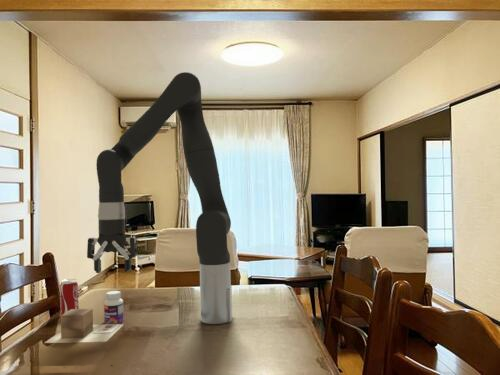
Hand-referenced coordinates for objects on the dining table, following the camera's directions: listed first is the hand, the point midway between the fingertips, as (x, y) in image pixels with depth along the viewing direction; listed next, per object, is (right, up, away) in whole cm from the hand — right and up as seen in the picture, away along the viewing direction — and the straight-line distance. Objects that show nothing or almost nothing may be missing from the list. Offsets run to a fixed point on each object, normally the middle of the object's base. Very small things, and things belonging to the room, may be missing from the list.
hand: (112, 272), depth 122 cm
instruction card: (+1, -14, -7) cm, 16 cm away
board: (-4, -16, -10) cm, 19 cm away
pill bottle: (+1, -16, 0) cm, 16 cm away
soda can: (-16, -16, +8) cm, 24 cm away
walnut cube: (-6, -14, -11) cm, 19 cm away
